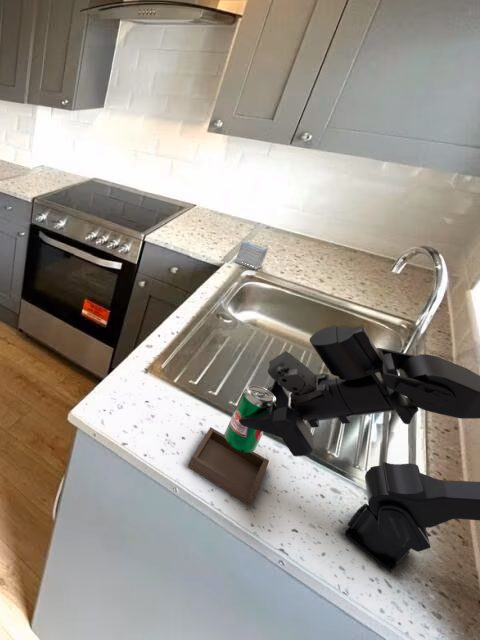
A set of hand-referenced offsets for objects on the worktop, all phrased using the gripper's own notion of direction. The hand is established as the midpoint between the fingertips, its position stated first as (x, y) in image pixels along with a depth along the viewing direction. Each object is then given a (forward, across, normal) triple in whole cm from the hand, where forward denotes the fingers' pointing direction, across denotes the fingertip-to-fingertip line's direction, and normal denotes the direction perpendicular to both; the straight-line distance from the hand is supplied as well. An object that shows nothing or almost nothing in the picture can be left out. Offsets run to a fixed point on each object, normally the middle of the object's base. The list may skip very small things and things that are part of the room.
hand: (242, 413), depth 77 cm
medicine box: (+15, -108, +4) cm, 109 cm away
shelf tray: (+8, 0, +10) cm, 13 cm away
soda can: (+4, 0, +6) cm, 7 cm away
